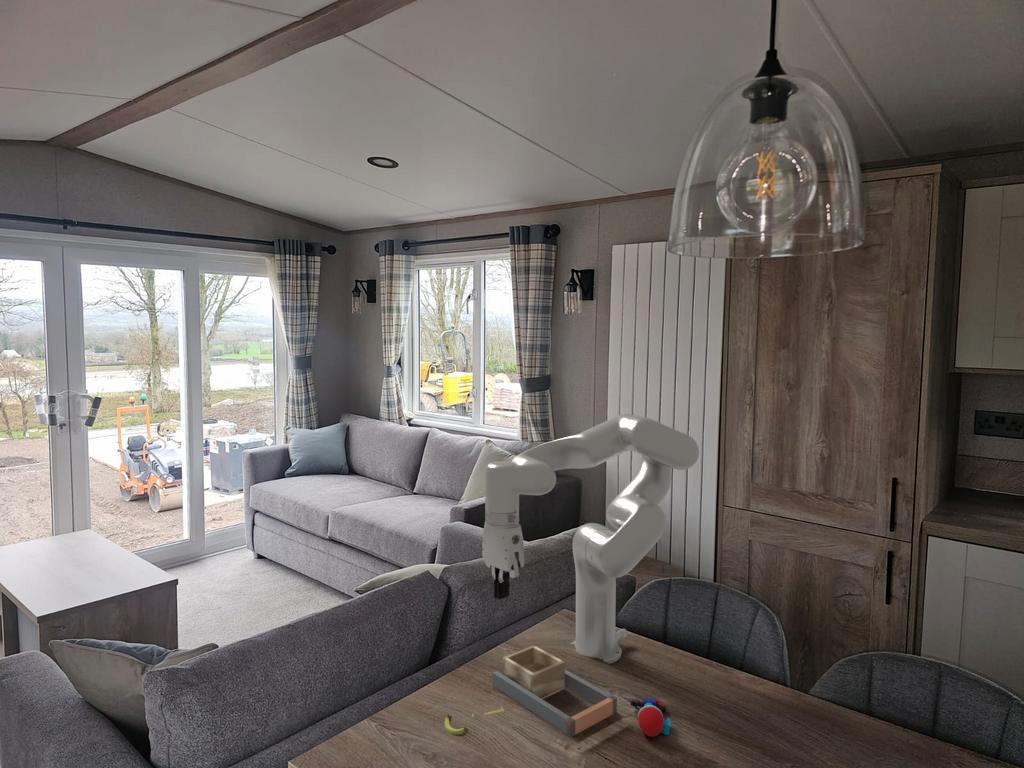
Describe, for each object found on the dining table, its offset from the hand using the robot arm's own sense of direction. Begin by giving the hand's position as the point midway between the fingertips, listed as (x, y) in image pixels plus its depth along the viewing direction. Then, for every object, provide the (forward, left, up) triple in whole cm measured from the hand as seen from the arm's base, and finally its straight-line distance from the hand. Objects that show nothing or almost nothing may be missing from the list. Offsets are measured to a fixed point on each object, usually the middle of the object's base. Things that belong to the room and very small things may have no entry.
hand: (501, 596), depth 152 cm
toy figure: (-11, +34, -19) cm, 40 cm away
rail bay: (0, +17, -18) cm, 24 cm away
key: (+16, +11, -19) cm, 27 cm away
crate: (0, +11, -17) cm, 20 cm away
